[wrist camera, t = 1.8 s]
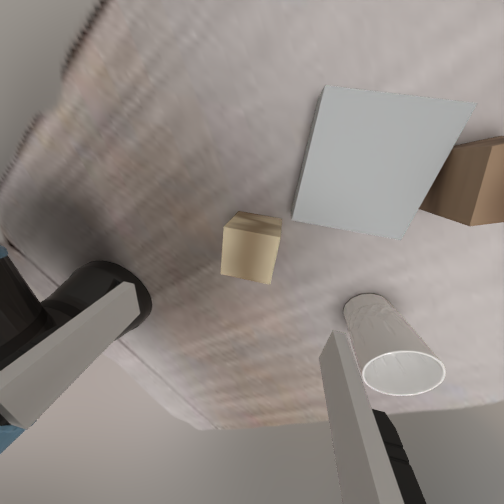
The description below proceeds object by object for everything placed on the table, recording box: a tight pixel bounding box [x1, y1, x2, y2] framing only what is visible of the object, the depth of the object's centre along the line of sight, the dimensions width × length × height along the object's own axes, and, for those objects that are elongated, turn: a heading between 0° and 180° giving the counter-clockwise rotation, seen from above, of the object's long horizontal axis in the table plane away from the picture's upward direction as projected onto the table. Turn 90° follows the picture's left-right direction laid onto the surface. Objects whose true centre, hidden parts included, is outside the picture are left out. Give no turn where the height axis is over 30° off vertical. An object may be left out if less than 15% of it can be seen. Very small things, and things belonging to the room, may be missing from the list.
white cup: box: [343, 294, 446, 396], centre depth 24 cm, size 8×8×10 cm
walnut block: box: [419, 136, 504, 226], centre depth 17 cm, size 6×6×7 cm
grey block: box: [291, 85, 477, 240], centre depth 19 cm, size 12×12×4 cm
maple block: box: [221, 211, 282, 284], centre depth 23 cm, size 6×6×7 cm
